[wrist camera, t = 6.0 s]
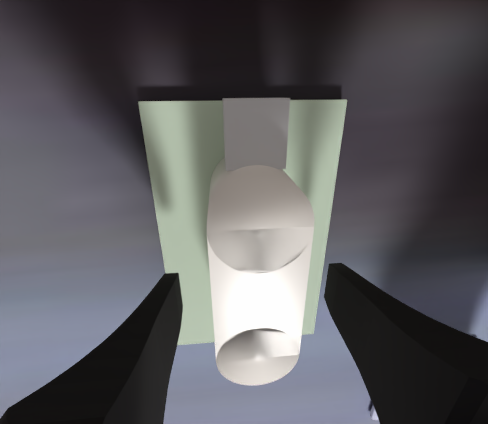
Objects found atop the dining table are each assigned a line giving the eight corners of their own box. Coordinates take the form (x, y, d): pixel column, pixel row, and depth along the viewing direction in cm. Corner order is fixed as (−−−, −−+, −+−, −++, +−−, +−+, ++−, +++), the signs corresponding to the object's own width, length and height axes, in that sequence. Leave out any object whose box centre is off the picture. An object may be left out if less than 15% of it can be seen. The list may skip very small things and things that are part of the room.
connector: (276, 308, 18) (296, 381, 13) (218, 313, 18) (218, 388, 13) (288, 97, 12) (329, 98, 8) (204, 98, 12) (196, 99, 8)
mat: (310, 327, 20) (313, 333, 19) (178, 337, 19) (177, 345, 18) (341, 99, 13) (347, 99, 13) (141, 101, 12) (138, 101, 12)
